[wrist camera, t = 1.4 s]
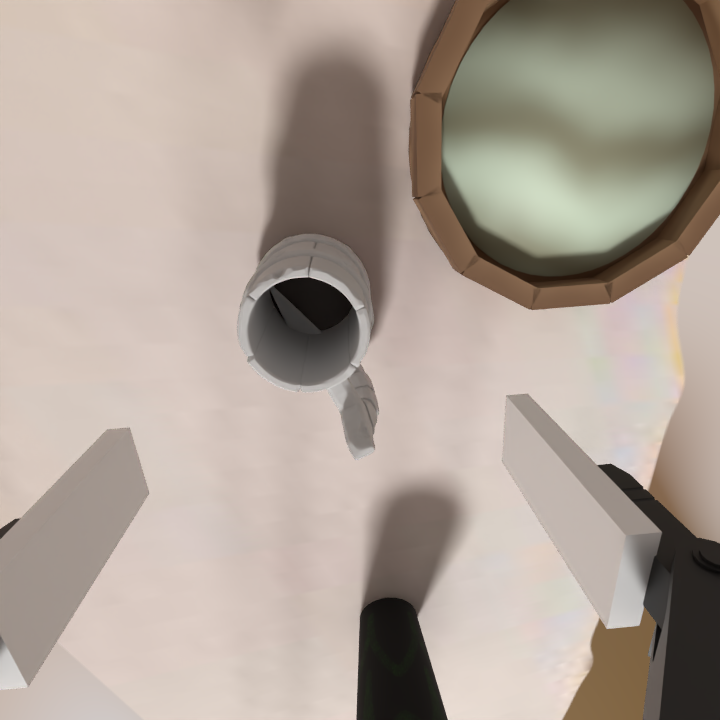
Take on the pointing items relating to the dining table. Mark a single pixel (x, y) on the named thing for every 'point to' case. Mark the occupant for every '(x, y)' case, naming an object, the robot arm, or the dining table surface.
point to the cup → (395, 666)
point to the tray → (569, 143)
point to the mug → (313, 332)
